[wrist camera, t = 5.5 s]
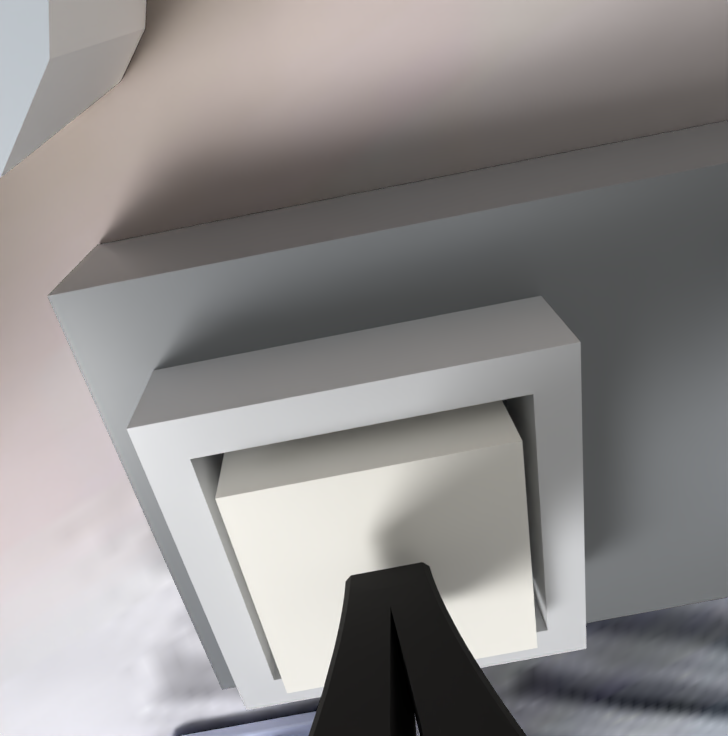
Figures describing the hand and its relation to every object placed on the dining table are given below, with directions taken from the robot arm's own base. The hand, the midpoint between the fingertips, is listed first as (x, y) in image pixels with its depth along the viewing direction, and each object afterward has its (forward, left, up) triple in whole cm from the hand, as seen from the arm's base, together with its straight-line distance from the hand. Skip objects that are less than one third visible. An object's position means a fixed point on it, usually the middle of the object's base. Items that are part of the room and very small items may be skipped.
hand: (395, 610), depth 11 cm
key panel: (0, -6, -6) cm, 9 cm away
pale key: (0, 0, -2) cm, 2 cm away
